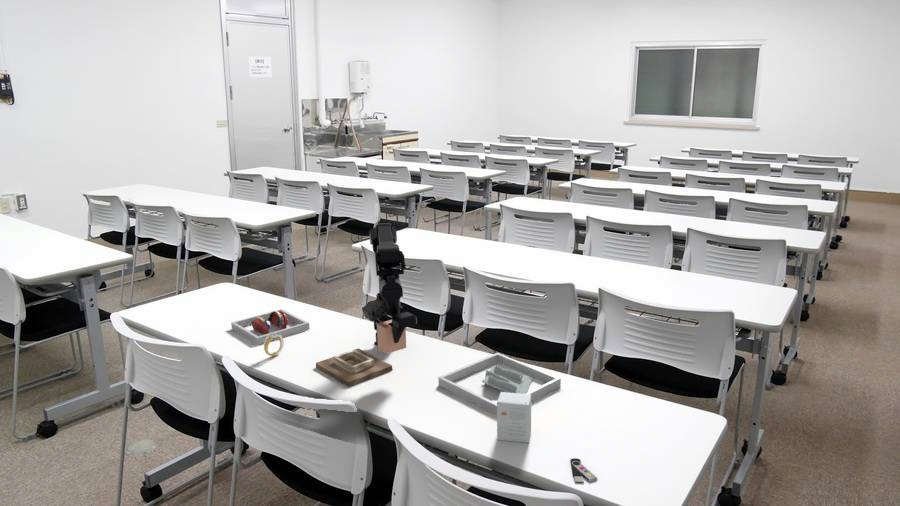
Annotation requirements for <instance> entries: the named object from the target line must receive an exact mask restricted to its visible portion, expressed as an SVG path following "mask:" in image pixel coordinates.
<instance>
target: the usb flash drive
mask: <svg viewBox="0 0 900 506" xmlns="http://www.w3.org/2000/svg"><path fill="white" fill-rule="evenodd" d="M569 461H570V467H571V472H572V477H573V480H574V479H575V480H574V483H583V484H584V481H585V480H584V476H585V478H587V480H589V483H593V482H595V481H594V480H597V481H598V477H597V475H595V474H594V473H593V472H591V470H589V469H588V468H587V467H586V466H585V465H584V464H582V460H581V459H580V458H576V457H575V458H574V457H573V458H570V460H569ZM592 481H593V482H592Z"/></svg>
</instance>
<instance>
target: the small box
mask: <svg viewBox="0 0 900 506" xmlns="http://www.w3.org/2000/svg"><path fill="white" fill-rule="evenodd" d="M496 403H497V414H496V433H497V434H496V439H497V441H507V442H518V443H527V444H528V443H530V438H531V435H532V434H531V433H532V401H531V394H519V393H507V392H504V391H500V393H499V394H498V398H497V401H496Z"/></svg>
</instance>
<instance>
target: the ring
mask: <svg viewBox="0 0 900 506" xmlns="http://www.w3.org/2000/svg"><path fill="white" fill-rule="evenodd" d="M272 332H273V331H271V332H269V333H270V334H269V335H268V336H267V337H266V339H265V342H264V343H263V351H264V353H265V354H267V355H268V356H270V357H276V356H277V355H279V354H280V353H281V352H282V350H283V348H284V346H285V345H284V337H283V338H282V336H281V335H276V334H277V332H275V331H274V332H275V333H272ZM275 337H277V338H278V339H277V340H279V343H280V345H279V348H278V349H277V351H274V352H272V353H270V352H269V351H268V348H269V345H270V343H271V342H272V340H273V338H275ZM269 338H270V339H269ZM268 339H269V340H268ZM273 341H274V340H273Z"/></svg>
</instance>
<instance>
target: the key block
mask: <svg viewBox="0 0 900 506" xmlns="http://www.w3.org/2000/svg"><path fill="white" fill-rule="evenodd" d="M388 323H392V320H388V321H384V322H381V323H377V339H378V345H377V350H379V351H381V352H382V353H384V354H390V353H393V352H396V351H400V350H404V349H406V348H407V333H406V332H407V329H406V328H407V327H405V329H404V331H403V333H402V335H401V337H400V340H399V342H398V343H394V338H393V331H392V327H391V326H390V325H388Z"/></svg>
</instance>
